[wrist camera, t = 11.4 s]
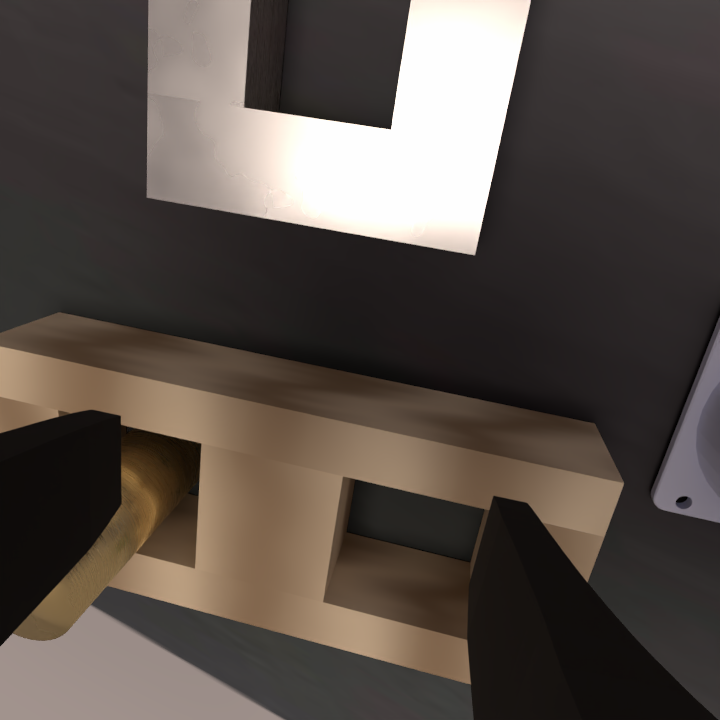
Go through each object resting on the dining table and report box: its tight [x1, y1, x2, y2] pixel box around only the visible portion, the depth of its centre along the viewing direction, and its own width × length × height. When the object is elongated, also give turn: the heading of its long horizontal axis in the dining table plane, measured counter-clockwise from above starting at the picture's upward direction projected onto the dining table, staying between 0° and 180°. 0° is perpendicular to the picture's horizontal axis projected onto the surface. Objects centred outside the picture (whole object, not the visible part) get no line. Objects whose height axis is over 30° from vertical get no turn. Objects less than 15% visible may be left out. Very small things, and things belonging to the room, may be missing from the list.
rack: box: [0, 312, 624, 684], centre depth 21 cm, size 21×9×4 cm, turn 82°
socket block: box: [147, 0, 531, 255], centre depth 16 cm, size 10×10×3 cm
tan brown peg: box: [13, 428, 201, 641], centre depth 19 cm, size 3×3×9 cm
